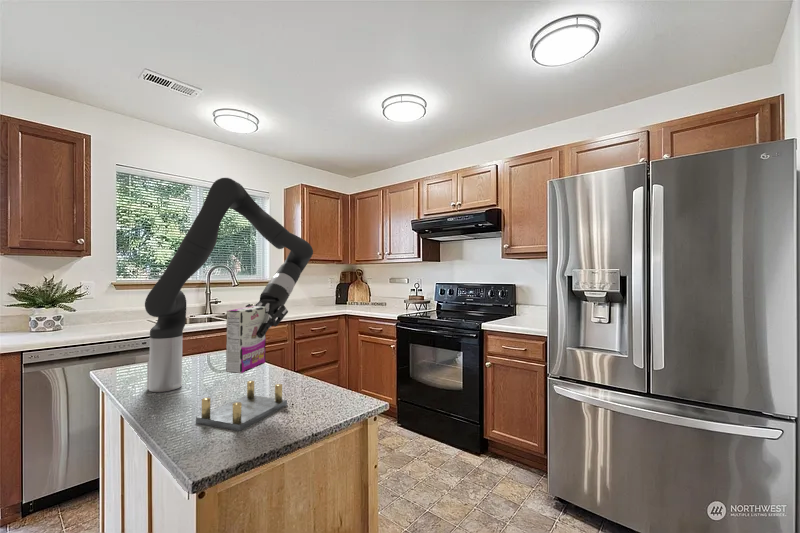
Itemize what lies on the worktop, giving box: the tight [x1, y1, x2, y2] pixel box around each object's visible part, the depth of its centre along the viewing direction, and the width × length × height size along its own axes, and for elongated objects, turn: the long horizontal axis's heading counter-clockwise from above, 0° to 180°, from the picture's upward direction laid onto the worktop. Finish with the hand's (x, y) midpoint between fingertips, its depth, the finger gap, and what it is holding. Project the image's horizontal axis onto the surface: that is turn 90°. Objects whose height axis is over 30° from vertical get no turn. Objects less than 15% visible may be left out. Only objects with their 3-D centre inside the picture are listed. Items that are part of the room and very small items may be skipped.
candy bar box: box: [225, 305, 267, 374], centre depth 99 cm, size 11×5×16 cm, turn 168°
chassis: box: [195, 380, 288, 432], centre depth 99 cm, size 14×18×6 cm
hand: (250, 335), depth 101 cm, fingers closed on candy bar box, 5 cm apart
